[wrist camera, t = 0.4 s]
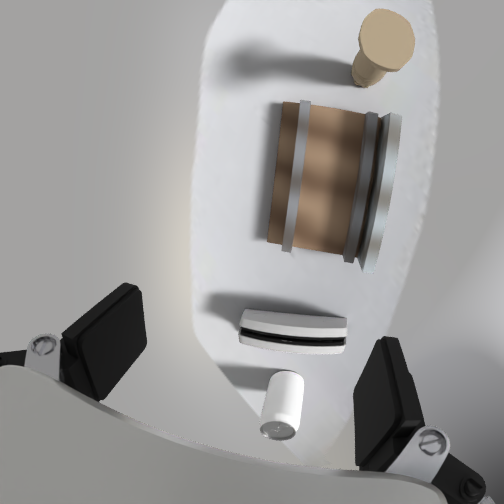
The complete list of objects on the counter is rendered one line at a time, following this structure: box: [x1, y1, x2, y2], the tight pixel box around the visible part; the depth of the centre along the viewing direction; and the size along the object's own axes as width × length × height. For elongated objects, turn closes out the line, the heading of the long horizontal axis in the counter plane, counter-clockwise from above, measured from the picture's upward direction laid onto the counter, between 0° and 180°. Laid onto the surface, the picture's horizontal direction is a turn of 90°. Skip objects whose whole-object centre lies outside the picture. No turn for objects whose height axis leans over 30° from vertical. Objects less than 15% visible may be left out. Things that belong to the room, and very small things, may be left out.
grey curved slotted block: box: [238, 309, 347, 354], centre depth 41 cm, size 17×5×10 cm, turn 90°
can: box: [260, 371, 304, 441], centre depth 43 cm, size 6×6×12 cm
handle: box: [351, 9, 415, 88], centre depth 23 cm, size 5×6×15 cm
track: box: [267, 100, 402, 274], centre depth 33 cm, size 19×14×6 cm
